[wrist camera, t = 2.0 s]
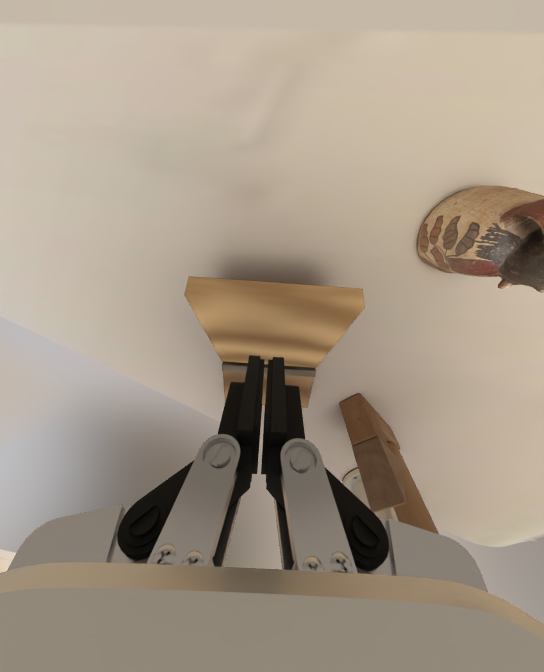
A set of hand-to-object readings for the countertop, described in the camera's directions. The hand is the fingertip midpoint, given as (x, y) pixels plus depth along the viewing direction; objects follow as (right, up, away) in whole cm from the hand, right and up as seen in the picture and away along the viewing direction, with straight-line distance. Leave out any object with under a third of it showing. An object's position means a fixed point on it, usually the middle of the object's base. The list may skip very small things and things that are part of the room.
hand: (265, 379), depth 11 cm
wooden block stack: (+15, -11, +25) cm, 31 cm away
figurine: (+18, +12, +11) cm, 24 cm away
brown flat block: (0, -4, +21) cm, 21 cm away
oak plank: (0, +3, +11) cm, 12 cm away
